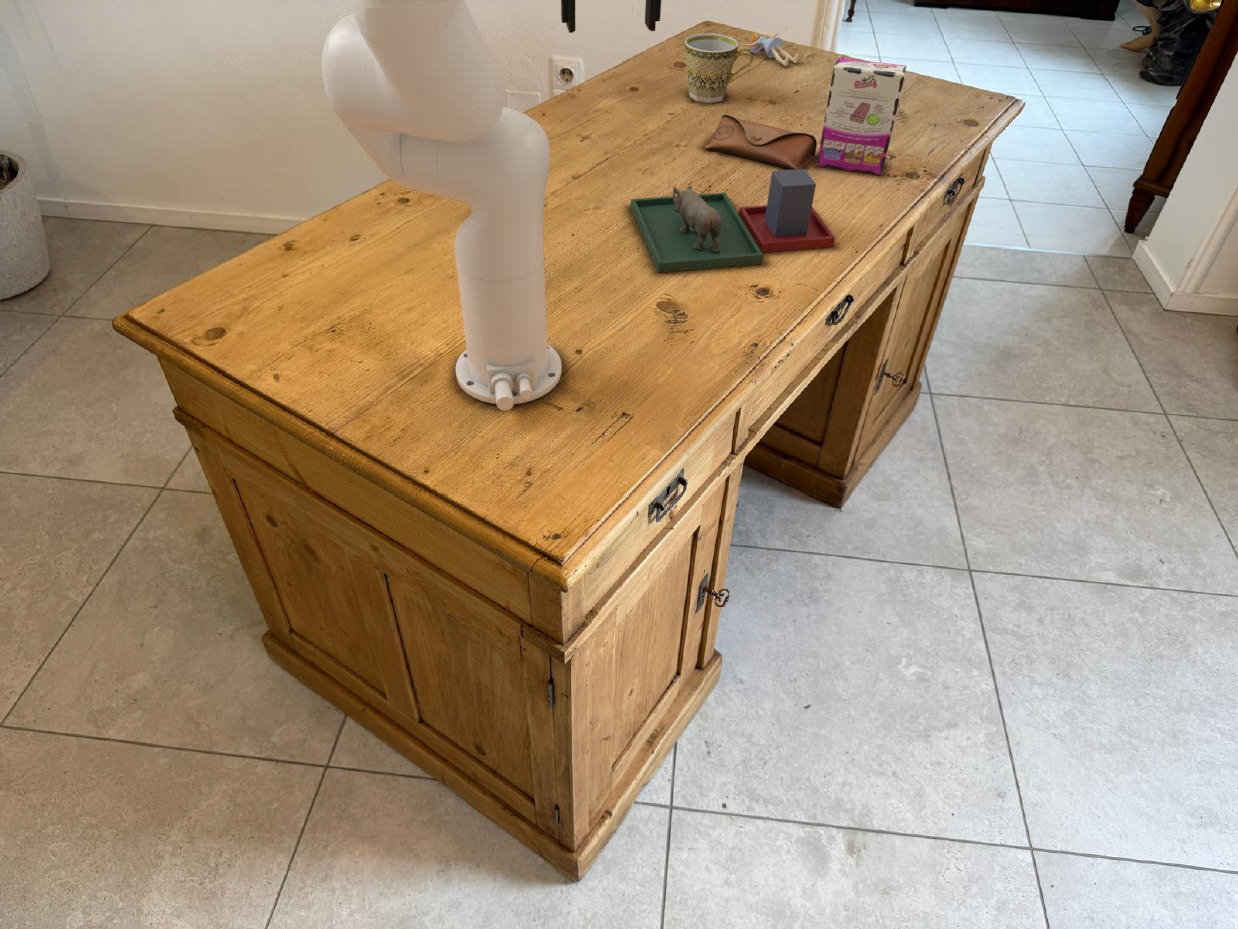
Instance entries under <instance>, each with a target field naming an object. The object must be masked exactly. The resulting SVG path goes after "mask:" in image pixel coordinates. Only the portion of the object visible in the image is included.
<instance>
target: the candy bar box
mask: <svg viewBox="0 0 1238 929" xmlns="http://www.w3.org/2000/svg"><path fill="white" fill-rule="evenodd" d="M906 71H907V65H905V64H895V63H887V62H881V61H880V62H879V61H871V60H870V61H869V60H863V59H861V60H860V59H852V58H844V57H837V59H836V62H835V63H834V66H833V69H832V74H831V79H830V80H831V81H830V87H829V92H828V98H827V103H826V110H825V115H824V120H823V126H822V132H821V138H820V144H819V148H818V153H817V159H816V166H817V167H821V168H829V169H835V170H842V171H850V172H856V173H864V174H871V175H877V176H881V175H883V172H884V169H885V164H886V161H887V156H888V152H889V148H890V143H891V139H892V135H893V130H894V125H895V122H896V117H897V114H898V109H899V105H900V99H901V95H902V91H903V86H904V82H905V76H906Z"/></svg>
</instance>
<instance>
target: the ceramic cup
mask: <svg viewBox="0 0 1238 929" xmlns="http://www.w3.org/2000/svg"><path fill="white" fill-rule="evenodd" d="M739 46H740V45H739V42H738V40H736V39H735V38H733V37H731V36H727V35H725V34H720V33H708V32H707V33H696V34H692V35H690V36H688V37H686V38H685V40H684V53H685V63H686V72H687V74H686V75H687V84H688V96H689V97H690V99H692V100H694V101H696V102H698V103H706V104H713V103H719V102H722V101H723V99H724V97H725V96H726V91H727V88H728V84H729V83H730V81H732V79H733V78H734V77H735V76H737V75H738V74H739V73H740V72H742V71H744V70H745V69H746V68H748V67H750V66H751V64H752V63H753V59H754V56H753V53H751V52H750V51H751V50H748V49H740V50H739V51H738V48H739ZM741 55H748V57H750V61H749V62H747V64H745V65H743V66H742V67H740V68H739V69H738V70H736V72H734V73H732V70H733V66H734V63H735V62H736V61H737V60H738V58H739V57H740V56H741Z"/></svg>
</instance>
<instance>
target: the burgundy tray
mask: <svg viewBox="0 0 1238 929" xmlns="http://www.w3.org/2000/svg"><path fill="white" fill-rule="evenodd" d="M766 208H767V204H763V205H752V206H740V207H739V210H738V214H739V216H740V217H741V219H742V221H743V222H744V224H745V226H746V227H747V229H748V231H749V232H750V234H751V236H752V237H753V239H754V240H755V242H756V244H757V245H758V247H759V249H760V250H761V252H762V254H764V253H773V252H775V253H776V252H785V251H799V250H800V251H801V250H811V249H822V248H833V247H834V246H835V240H836V237H835V235H834V233H833V232H832V231H831V230H830V229H829V227H828V226H827V225H826V223H825V221H823V219H822V218H821V216H820V214H818V212H817V211H816V210H815V208H814V207H813V206H812V209H811V214H810V219H809V225H808V230H807V234H806V235H795V236H782V237H775V236H774V235H773V233H772V232H771V230H770V229H769V227H768V226H767V224H766V222H765V215H766Z"/></svg>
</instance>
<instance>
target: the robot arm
mask: <svg viewBox="0 0 1238 929" xmlns="http://www.w3.org/2000/svg"><path fill="white" fill-rule="evenodd" d="M644 7H645V8H644V24H645V26H646V28H647V29H648V31H650V32H656V26H657V25H656V24H657V22H660V21H661V13H662V0H645V6H644ZM469 10H470V9H469V8H468V5H467V4H466V0H352V11H353V13H352V14H349V15H347V16H345V17H343V18H342V19H340V20H338V21H337V22H336V23H335V24H334V25H333V26H332V27H331V29H330V31H329V32H328V34H327V37H326V38H325V40H324V43H323V48H322V54H321V75H322V81H323V85H324V90H325V93H326V96H327V99H328V102H329V104H330V106H331V108H332V110H333V112H334V113H335V114H336V117H337V118H338V119H339V120H340V122H341V123H342V124H343V126H344V127H345V128H346V130H347V131H348V132H349V133H350V135H351V136H352V137H353V138H354V140H355V141H356V142H357V143H358V145H359V146H360V147H361V148H362V150H363V151H364V152H365V153H366V154H367V156H368V157H369V158H370V159H371V160H372V162H373V163H374V164H375V165H376V167H377V168H378V169H379V170H380V171H381V172H382V173H383V175H385V176H386V177H387V178H388V179H389V180H390V181H391V182H392V183H395V184H396V185H398V186H400V187H403V188H404V189H409V190H412V191H416V192H419V193H423V194H427V195H431V196H432V195H433V196H437V197H441V198H446V199H451V200H453V201H457V202H459V203H464V204H466V205H467V206H469V207H470V214H469V215H468V216H467V217H466V218H465V219H464V221H463V222H462V223H461V225H460V226H459V227H458V229H457V232H456V234H455V238H454V257H455V258H454V259H455V265H456V266H455V267H456V274H457V281H458V282H457V283H458V290H459V298H460V306H461V307H460V308H461V315H462V316H461V317H462V324H463V332H464V341H465V350H463V351H462V353H461V354H460V355H459V357H458V359H457V361H456V364H455V376H456V381H457V383H458V385H459V386H460V388H461V389H462V390H463V392H465V393H466V395H469V396H471V398H474V399H476V400H479V401H481V402H483V403H484V402H485V403H488V404H492V405H496V407H497V408H498V410H501V411H508V410H511V409H512V408H513V407H514V405H518V404H524V403H527V402H532V401H535V400H536V399H539V398H541V397H544V396H545V395H547V394H548V393H549V392H551V391H552V390H553V389H554V388H555V387H556V386H557V384H558V383H559V382H560V379H561V377H562V371H563V370H562V369H563V368H562V367H563V366H562V359H561V357H560V354H559V353H558V352H557V351H556V349H555V348H554V347H553V346H551V345H550V344H548V320H547V319H548V318H547V297H546V296H547V295H546V294H547V293H546V272H545V271H546V270H545V241H544V220H545V219H544V217H545V216H544V215H545V214H544V213H545V202H546V192H547V187H548V186H547V185H548V178H549V173H550V165H551V145H550V141H549V138H548V135H547V133H546V131H545V130H544V128H543V127H542V125H540V124H539V123H538V122H537V121H536V120H535V119H534V118H532V117H531V116H528V114H526V113H523V112H521V111H518V110H515V109H513V108H509V107H505V106H504V89H503V84H502V81H501V80H502V79H501V76H500V74H499V72H498V70H497V68H496V64H495V62H494V59H493V57H492V56H491V53H490V51H489V49H488V47H487V45H486V43H485V41H484V39H483V36H482V35H481V32H480V31H479V29H478V27H477V24H476V22H475V20H474V19H473V16H472V14H471V12H470V11H469ZM560 15H561V18H560V19H561V23H562V24H566V28H567V32H568V33H569V34H571V33H574V32H576V0H560Z"/></svg>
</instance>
